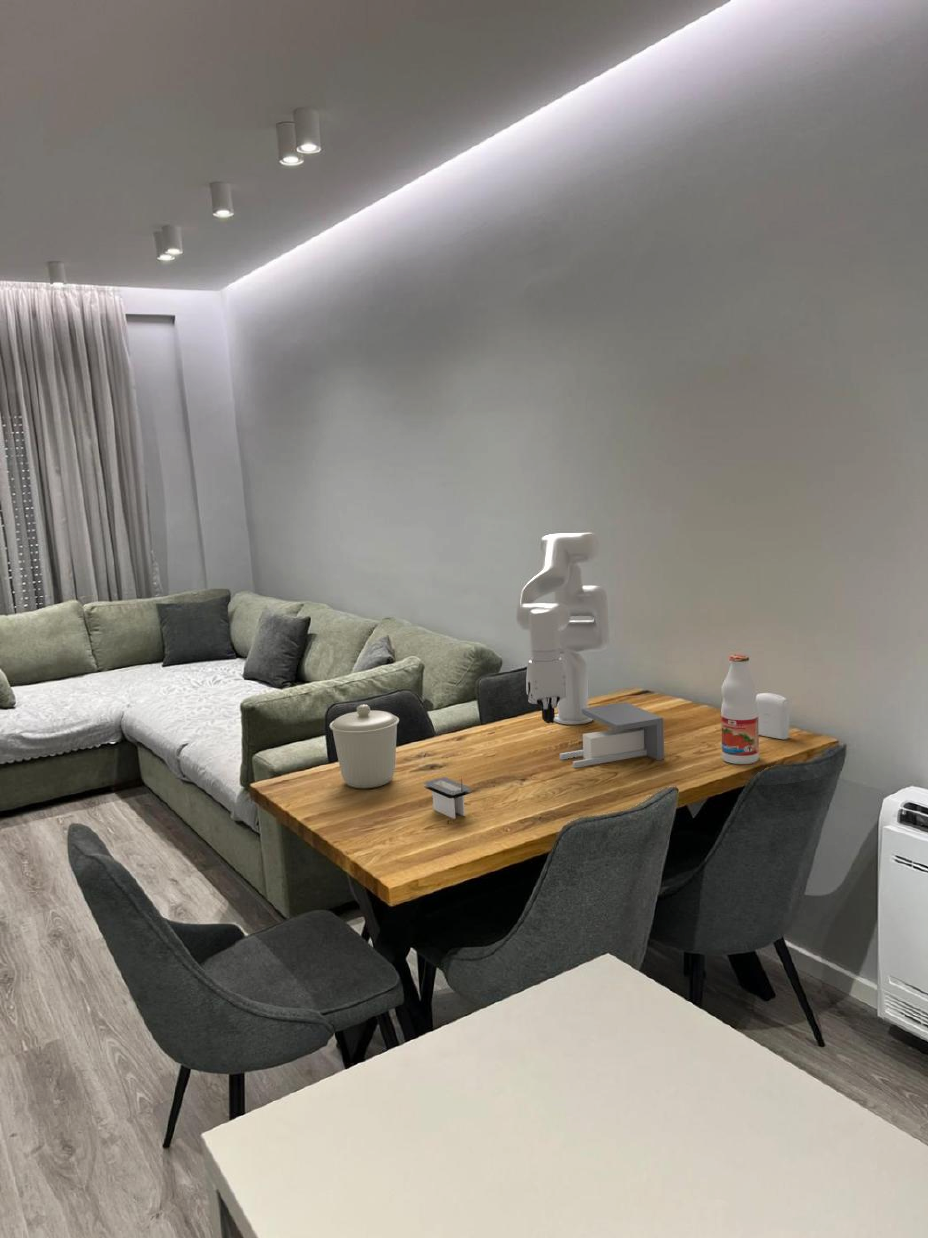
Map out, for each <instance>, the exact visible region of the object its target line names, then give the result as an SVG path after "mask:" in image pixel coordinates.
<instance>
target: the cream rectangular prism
mask: <svg viewBox="0 0 928 1238" xmlns="http://www.w3.org/2000/svg"><path fill="white" fill-rule="evenodd" d="M582 748H583V749H582V750H583V755H584V756H583V759H584V758H585V759H590V758H596V757H601V756H607V755H613V754H618V753H624V752H630V751H635V750H641V749H644V730H642V729H640V728H632V729H626V730H620V731H616V730H614V729H612V728H611V729H605V730H601V731H595V732H589V733H588V732H587V733H583V734H582Z"/></svg>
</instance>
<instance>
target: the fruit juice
mask: <svg viewBox="0 0 928 1238" xmlns="http://www.w3.org/2000/svg"><path fill="white" fill-rule="evenodd" d="M728 659H729V663H730V666H729V668H728V673H727V675H726V677H725V679H724V680H723V683H722V685H721V694H722V699H723V700H722V703H721V709H720V711H721V712H720V715H721V716H720V718H721V720H720V721H721V722H720V723H721V725H720V726H721V729H720V730H721V757H722V760H723V761H724V762H725V763H726V762H727V763H728V764H733V765H749V764H754V763H757V762H758V760H759V757H760V753H759V752H760V751H759V748H760V747H759V736H760V735H759V722H758V717H759V713H758V705H757V703H756V696H757V695H758V694H759V690H758V689H759V688H758V684H757V682H756V681H755V679H754V678H753V676H752V673H751V670H750V667H749V662H750V657H749V655H747V654H742V653H741V654H740V653H739V654H738V653H736V654H730V655H729V658H728Z"/></svg>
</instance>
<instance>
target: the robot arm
mask: <svg viewBox="0 0 928 1238" xmlns="http://www.w3.org/2000/svg"><path fill="white" fill-rule="evenodd" d="M540 550H541V555H540V563H539V570H538V574H536V575H535V576H534V577H533V578H531V579H530V580H529V581H528V582H527V583H526V584H525V585H524V586H523V588H522V589H521V591H520V593H519V596H518V602H517V608H516V618H515V619H516V624H517V626H518V627H519V628H520V629H521V630H522V631H526V632H527V631H528V632H529V640H530V641H529V642H530V645H529V646H530V659H529V660H528V662H527V665H526V666H527V667H526V678H525V681H526V682H525V685H526V686H525V690H526V694H527V695H528V698H527V699H528V700H527V701H528V703H530V704H534V705H538V706H539V707H540V708H541V717H542V720H543V722H544V723H546V724H553V723H554V722H556V723H558V724H560V725H571V726H572V725H574V726H576V725H583V724H588V723H590V722H592V721H593V719H591V718H589V717H587V716H585V715H583V714H582V709H583V708H589V691H588V690H589V689H588V687H589V686H588V665H587V662H586V660H585V659H584V658H583V656H582V655H581V654H580V652H599V651H600V652H601V651H604V650H606V649H607V648H608V647H609V642H610V630H609V629H610V627H609V626H610V625H609V611H608V607H609V606H608V597H607V592H606V591H605V589H604V588H603V587H602V586H600V585H583V583H582V570H581V569H582V568H580V566H579V564H580V563H581V564H582V563H592V562H595V561H596V560H597V558H598V557H599V553H600V542H599V538H598V536H597V535H596V534H595V533H594V532H572V533H571V532H570V533H569V532H567V533H566V532H565V533H553V534H551V533H550V534H548V535H545V536H543V537H542V538H541V539H540ZM552 593H553V595H554V602H536V600H537V599H540V598H542V597H544V596H547V595H550V594H552ZM581 617H582V618H583V617H585V618H587V617H589V618H591V619H586V620H585V619H584V620H582V619H578V620H577V619H575V620H574V619H573V620H571V618H581ZM556 708H557V713H556V714H555V709H556Z"/></svg>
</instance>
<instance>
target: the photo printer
mask: <svg viewBox="0 0 928 1238" xmlns="http://www.w3.org/2000/svg"><path fill="white" fill-rule="evenodd" d="M756 703H757V705H758V713H759V717H758V722H759V736H761V737H762V736H763V737H768V738H774V739H779V740H787V739H789V738H790V703H789V700H788V698H786V697H784V696H783V695H780V694H778V693H777V694H776V693H770V692H762V693H757V696H756Z"/></svg>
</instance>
